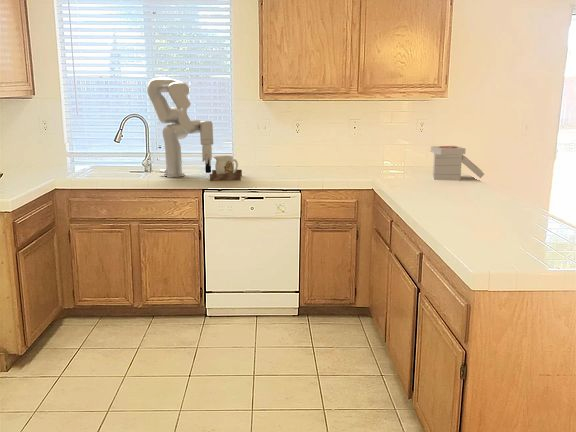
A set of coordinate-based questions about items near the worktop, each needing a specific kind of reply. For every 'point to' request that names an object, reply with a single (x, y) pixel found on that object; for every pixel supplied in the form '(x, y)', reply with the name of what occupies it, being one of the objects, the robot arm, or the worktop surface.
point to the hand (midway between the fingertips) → (208, 172)
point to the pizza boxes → (451, 163)
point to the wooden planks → (226, 176)
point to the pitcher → (225, 165)
